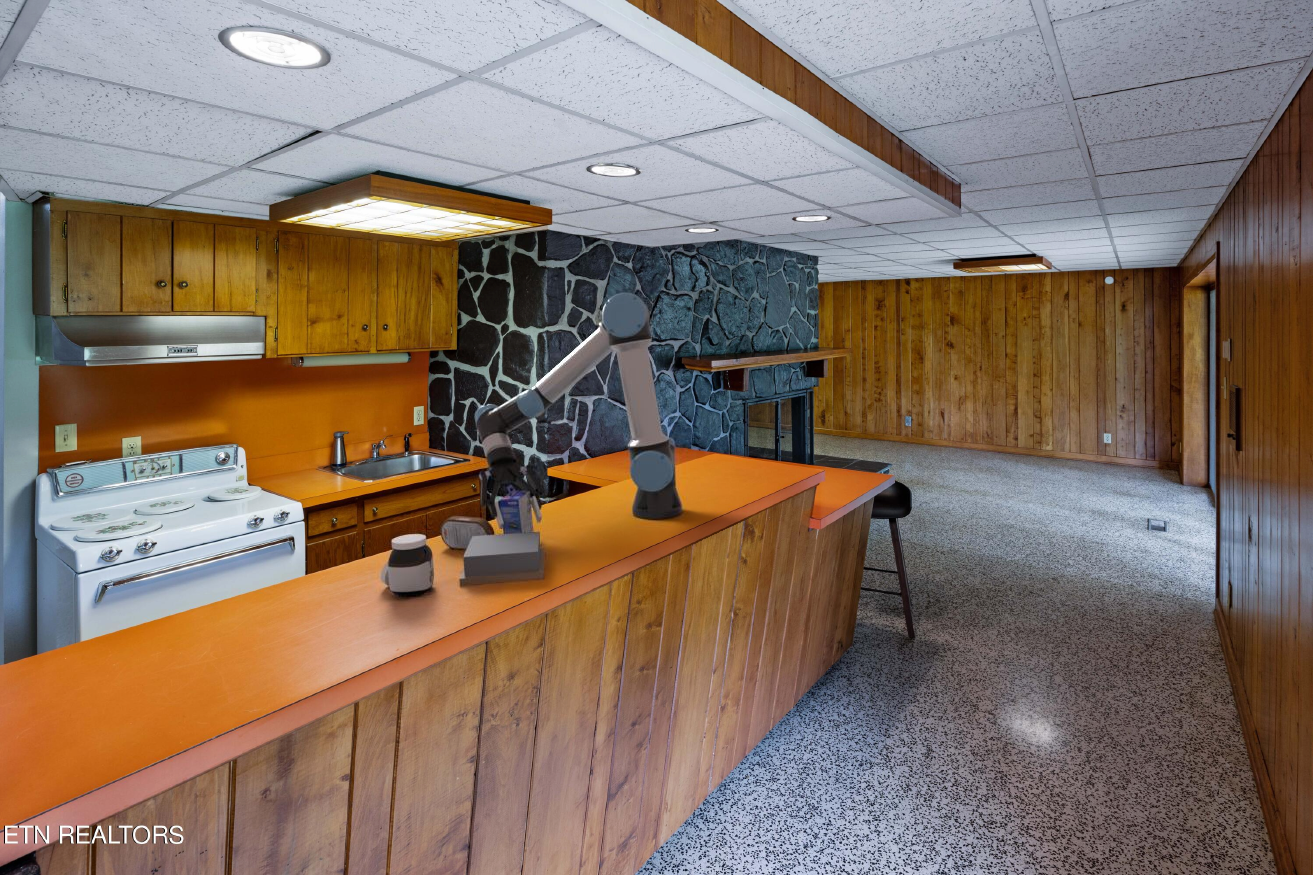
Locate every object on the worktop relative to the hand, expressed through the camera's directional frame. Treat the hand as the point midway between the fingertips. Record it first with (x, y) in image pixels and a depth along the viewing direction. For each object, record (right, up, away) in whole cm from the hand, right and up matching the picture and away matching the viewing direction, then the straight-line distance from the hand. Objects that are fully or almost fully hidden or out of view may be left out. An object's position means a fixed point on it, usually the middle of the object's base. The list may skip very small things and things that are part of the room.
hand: (520, 522), depth 168 cm
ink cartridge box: (-1, -5, +4) cm, 6 cm away
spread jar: (-19, -11, -27) cm, 35 cm away
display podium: (0, -9, -15) cm, 18 cm away
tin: (-14, -7, +1) cm, 15 cm away
